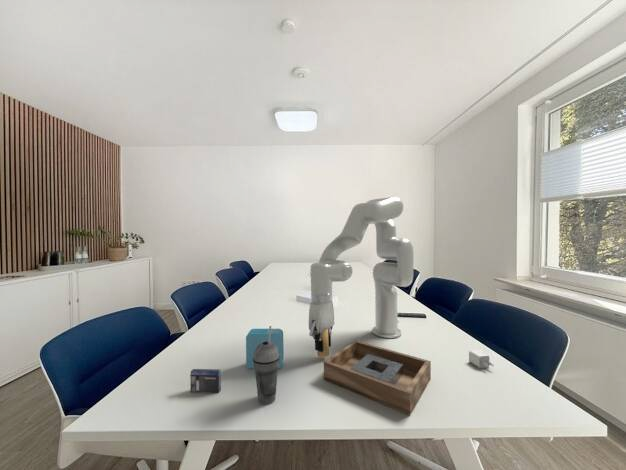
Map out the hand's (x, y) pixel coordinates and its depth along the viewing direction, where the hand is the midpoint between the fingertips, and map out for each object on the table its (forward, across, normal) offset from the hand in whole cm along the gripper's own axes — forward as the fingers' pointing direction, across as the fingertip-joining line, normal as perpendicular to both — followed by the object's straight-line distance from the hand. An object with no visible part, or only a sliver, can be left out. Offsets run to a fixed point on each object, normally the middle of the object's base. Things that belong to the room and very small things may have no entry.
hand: (323, 347), depth 93 cm
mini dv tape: (+3, +36, -16) cm, 39 cm away
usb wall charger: (+5, -27, +46) cm, 53 cm away
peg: (+2, 0, 0) cm, 2 cm away
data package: (+4, +16, -13) cm, 21 cm away
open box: (+4, +1, +21) cm, 21 cm away
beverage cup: (+4, +28, +1) cm, 28 cm away
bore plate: (+4, +1, +21) cm, 21 cm away
